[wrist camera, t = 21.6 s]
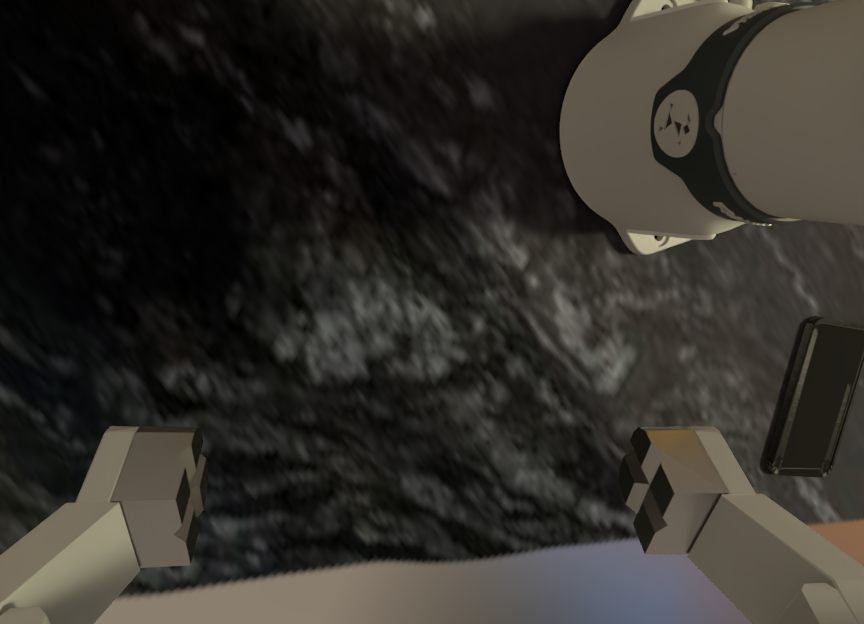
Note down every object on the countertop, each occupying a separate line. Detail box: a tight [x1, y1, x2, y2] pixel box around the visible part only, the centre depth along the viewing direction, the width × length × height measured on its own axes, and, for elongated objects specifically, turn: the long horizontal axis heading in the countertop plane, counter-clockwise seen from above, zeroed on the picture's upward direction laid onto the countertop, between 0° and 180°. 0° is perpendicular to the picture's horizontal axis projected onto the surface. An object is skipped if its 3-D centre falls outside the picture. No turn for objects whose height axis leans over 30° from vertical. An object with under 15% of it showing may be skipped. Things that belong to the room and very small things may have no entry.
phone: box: [766, 316, 864, 477], centre depth 61 cm, size 8×1×15 cm
